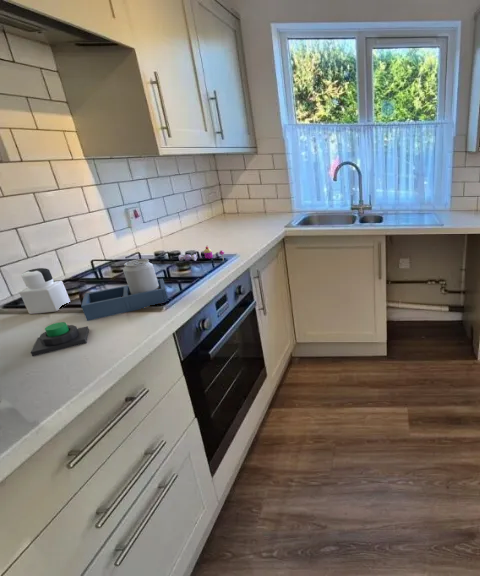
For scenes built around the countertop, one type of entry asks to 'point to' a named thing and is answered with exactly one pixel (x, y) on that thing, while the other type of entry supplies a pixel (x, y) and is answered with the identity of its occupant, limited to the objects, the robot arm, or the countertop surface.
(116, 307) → the rack
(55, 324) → the button
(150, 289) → the can
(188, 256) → the set of multicoloured pieces
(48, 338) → the control block
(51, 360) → the countertop surface
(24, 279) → the medicine bottle
